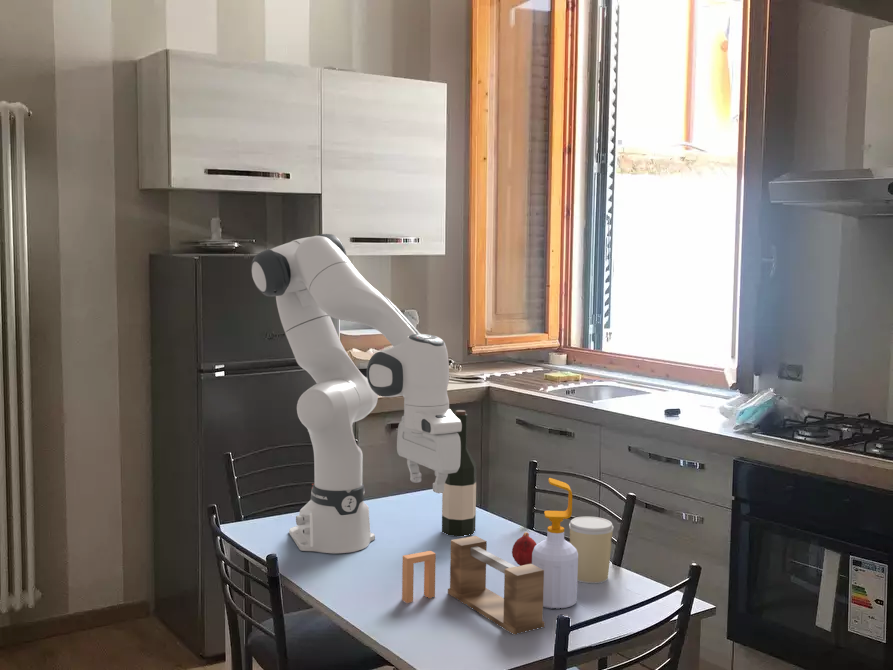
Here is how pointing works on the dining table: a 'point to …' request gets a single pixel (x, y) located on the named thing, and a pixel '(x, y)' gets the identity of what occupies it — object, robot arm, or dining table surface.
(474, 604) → the wooden rail stand
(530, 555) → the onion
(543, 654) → the dining table surface
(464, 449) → the wine bottle
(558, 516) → the soap bottle
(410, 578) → the wooden arch
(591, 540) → the coffee cup
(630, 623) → the dining table surface
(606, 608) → the dining table surface
